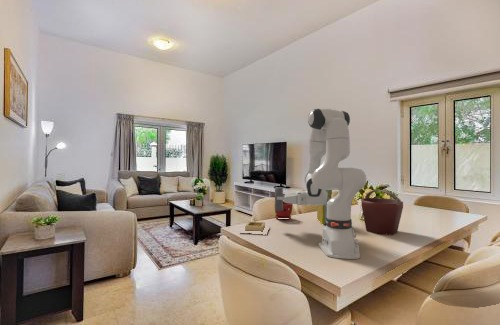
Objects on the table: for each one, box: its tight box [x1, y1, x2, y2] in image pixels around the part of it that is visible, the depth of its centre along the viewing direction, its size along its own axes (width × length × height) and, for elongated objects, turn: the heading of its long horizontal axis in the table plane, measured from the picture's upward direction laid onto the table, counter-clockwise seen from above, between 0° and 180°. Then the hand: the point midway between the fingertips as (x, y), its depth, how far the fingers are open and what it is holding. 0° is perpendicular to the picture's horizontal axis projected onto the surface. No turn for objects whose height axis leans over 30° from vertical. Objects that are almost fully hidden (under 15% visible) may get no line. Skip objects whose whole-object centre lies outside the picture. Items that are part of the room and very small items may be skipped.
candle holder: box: [244, 221, 266, 232], centre depth 151 cm, size 16×16×4 cm
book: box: [316, 190, 333, 225], centre depth 174 cm, size 17×7×25 cm, turn 179°
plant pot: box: [274, 200, 294, 219], centre depth 183 cm, size 13×13×12 cm
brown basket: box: [361, 189, 404, 236], centre depth 150 cm, size 24×22×25 cm
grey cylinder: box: [274, 186, 284, 212], centre depth 154 cm, size 5×5×14 cm
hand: (277, 197), depth 155 cm, fingers closed on grey cylinder, 5 cm apart
